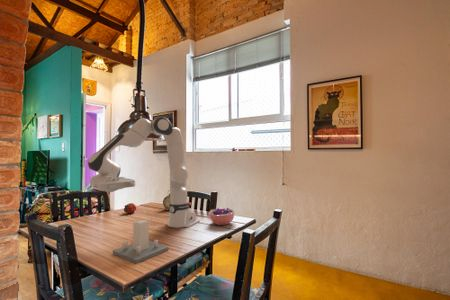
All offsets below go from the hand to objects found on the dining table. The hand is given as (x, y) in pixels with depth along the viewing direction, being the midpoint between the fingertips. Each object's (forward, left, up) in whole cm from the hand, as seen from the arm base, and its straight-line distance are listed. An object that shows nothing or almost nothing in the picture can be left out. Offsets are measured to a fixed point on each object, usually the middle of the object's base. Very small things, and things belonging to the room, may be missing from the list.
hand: (125, 186), depth 130 cm
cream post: (+2, +16, -28) cm, 33 cm away
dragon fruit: (-40, -53, -30) cm, 73 cm away
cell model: (-58, +21, -30) cm, 69 cm away
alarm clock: (-65, -36, -30) cm, 80 cm away
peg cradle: (+2, +16, -30) cm, 34 cm away
